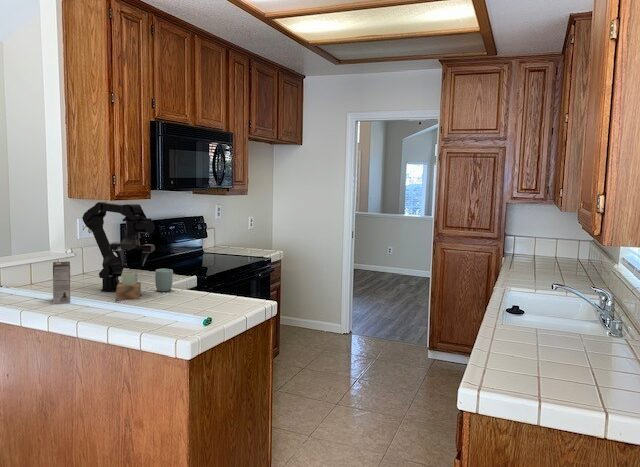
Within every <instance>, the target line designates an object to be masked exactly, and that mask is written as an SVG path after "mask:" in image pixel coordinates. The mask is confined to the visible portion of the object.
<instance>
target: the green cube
mask: <svg viewBox="0 0 640 467" xmlns="http://www.w3.org/2000/svg"><path fill="white" fill-rule="evenodd" d="M121 277H122V281H121V282H122V285H130V286H134V285H136V284H137V282H138V272H134V271H125V272H122V275H121Z"/></svg>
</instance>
